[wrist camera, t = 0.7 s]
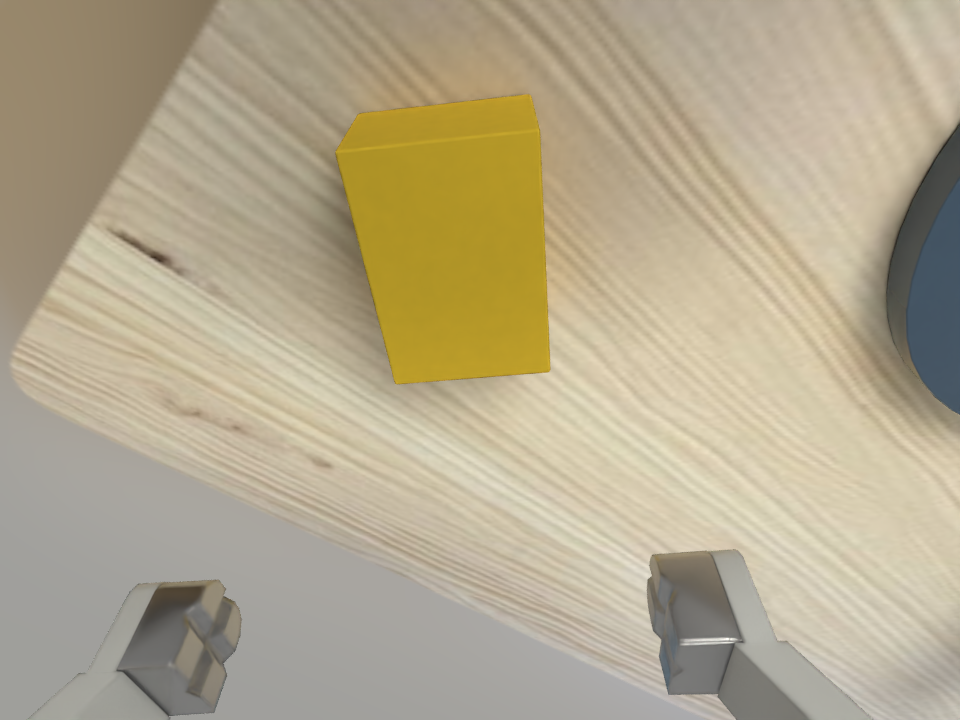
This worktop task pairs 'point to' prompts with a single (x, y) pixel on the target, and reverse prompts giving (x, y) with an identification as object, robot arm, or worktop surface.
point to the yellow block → (452, 236)
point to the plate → (930, 280)
